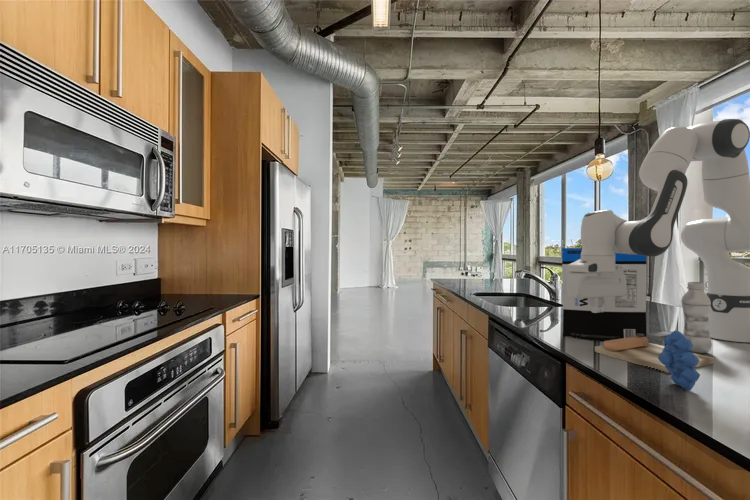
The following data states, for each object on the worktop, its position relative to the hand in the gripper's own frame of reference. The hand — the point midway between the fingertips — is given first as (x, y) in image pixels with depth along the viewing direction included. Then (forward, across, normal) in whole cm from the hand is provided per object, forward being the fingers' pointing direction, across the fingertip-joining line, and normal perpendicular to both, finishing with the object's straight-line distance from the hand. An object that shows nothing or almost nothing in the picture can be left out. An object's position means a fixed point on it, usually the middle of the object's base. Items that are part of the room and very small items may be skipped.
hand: (597, 312), depth 113 cm
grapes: (+12, +8, +26) cm, 30 cm away
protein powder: (+11, -15, -10) cm, 21 cm away
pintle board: (+11, -8, +10) cm, 17 cm away
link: (+9, -5, +5) cm, 12 cm away
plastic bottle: (+11, -24, +12) cm, 29 cm away
